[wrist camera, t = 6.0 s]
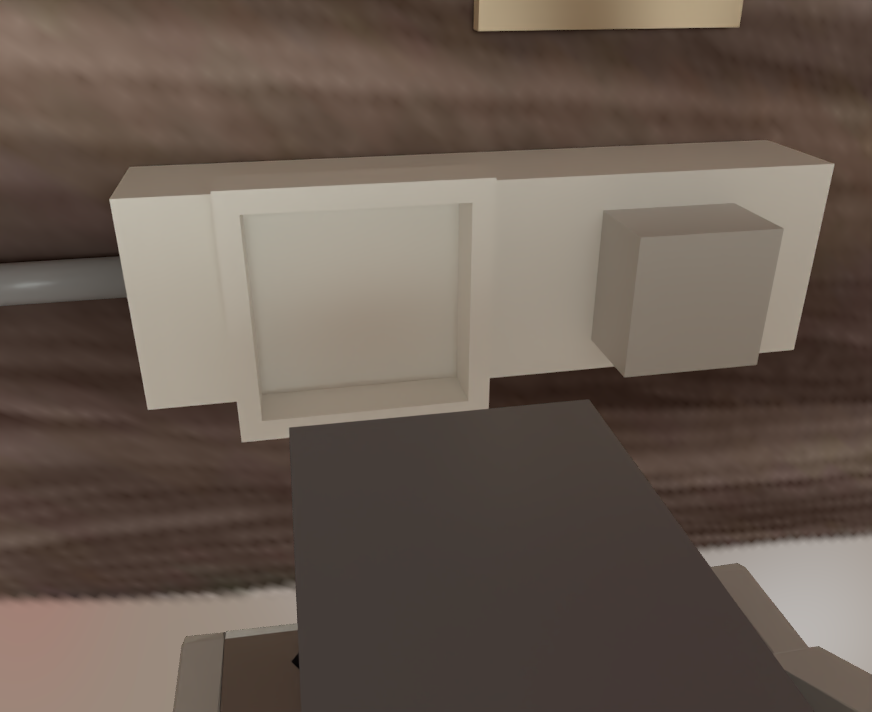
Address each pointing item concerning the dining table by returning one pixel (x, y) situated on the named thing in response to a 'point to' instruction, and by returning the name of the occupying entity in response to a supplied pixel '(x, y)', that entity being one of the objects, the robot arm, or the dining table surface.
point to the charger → (507, 574)
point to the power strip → (446, 273)
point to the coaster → (604, 14)
